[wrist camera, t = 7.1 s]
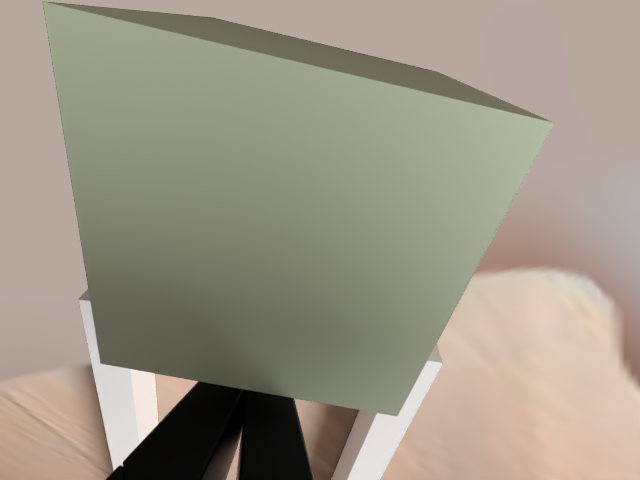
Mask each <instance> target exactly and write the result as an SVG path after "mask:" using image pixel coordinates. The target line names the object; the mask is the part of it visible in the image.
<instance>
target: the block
mask: <svg viewBox="0 0 640 480" xmlns="http://www.w3.org/2000/svg"><path fill="white" fill-rule="evenodd" d="M43 7H44V14H45V20H46V26H47V32H48V38H49V45H50V51H51V57H52V64H53V70H54V76H55V82H56V89H57V95H58V101H59V108H60V113H61V120H62V126H63V133H64V139H65V145H66V151H67V158H68V164H69V170H70V176H71V183H72V189H73V195H74V201H75V208H76V214H77V220H78V227H79V233H80V239H81V245H82V251H83V258H84V264H85V270H86V277H87V282H88V289H89V296H90V302H91V308H92V314H93V321H94V327H95V333H96V339H97V346H98V352H99V358H100V364H105V365H111V366H116V367H122V368H128V369H133V370H139V371H144V372H150V373H156V374H161V375H167V376H172V377H178V378H184V379H189V380H195V381H201V382H206V383H212V384H217V385H223V386H229V387H234V388H240V389H245V390H251V391H257V392H262V393H268V394H273V395H279V396H285V397H290V398H296V399H301V400H307V401H313V402H318V403H324V404H329V405H335V406H341V407H346V408H352V409H357V410H363V411H369V412H374V413H380V414H385V415H391V416H398V414H399V413H400V411H401V409H402V407H403V405H404V403H405V401H406V400H407V398H408V396H409V394H410V392H411V390H412V388H413V386H414V385H415V383H416V381H417V379H418V377H419V375H420V373H421V371H422V370H423V368H424V366H425V364H426V362H427V360H428V358H429V357H430V355H431V353H432V351H433V349H434V347H435V345H436V343H437V342H438V340H439V338H440V336H441V334H442V332H443V330H444V328H445V327H446V325H447V323H448V321H449V319H450V317H451V315H452V313H453V312H454V310H455V308H456V306H457V304H458V302H459V300H460V299H461V297H462V295H463V293H464V291H465V289H466V287H467V285H468V284H469V282H470V280H471V278H472V276H473V274H474V272H475V270H476V268H477V267H478V265H479V263H480V261H481V259H482V257H483V255H484V253H485V252H486V250H487V248H488V246H489V244H490V242H491V240H492V239H493V237H494V235H495V233H496V231H497V229H498V227H499V225H500V224H501V222H502V220H503V218H504V216H505V214H506V212H507V210H508V209H509V207H510V205H511V203H512V201H513V199H514V197H515V195H516V194H517V192H518V190H519V188H520V186H521V184H522V183H523V180H524V179H525V177H526V175H527V173H528V171H529V169H530V168H531V166H532V164H533V162H534V160H535V158H536V156H537V154H538V153H539V151H540V149H541V147H542V145H543V143H544V141H545V139H546V138H547V136H548V134H549V132H550V130H551V128H552V126H553V125H554V122H551V121H549V120H547V119H544V118H542V117H540V116H537V115H535V114H533V113H531V112H528V111H526V110H524V109H522V108H519V107H517V106H514V105H512V104H510V103H508V102H505V101H503V100H501V99H499V98H496V97H494V96H491V95H489V94H487V93H485V92H483V91H480V90H478V89H475V88H473V87H471V86H469V85H466V84H464V83H462V82H460V81H457V80H455V79H452V78H450V77H448V76H446V75H444V74H441V73H439V72H435V71H431V70H427V69H423V68H419V67H415V66H410V65H407V64H402V63H398V62H394V61H390V60H386V59H382V58H377V57H373V56H369V55H365V54H361V53H357V52H353V51H349V50H344V49H340V48H336V47H332V46H328V45H324V44H320V43H315V42H311V41H307V40H303V39H299V38H295V37H290V36H286V35H282V34H278V33H273V32H270V31H266V30H261V29H257V28H253V27H249V26H245V25H241V24H237V23H232V22H228V21H224V20H220V19H216V18H211V17H200V16H190V15H179V14H168V13H158V12H148V11H137V10H127V9H116V8H106V7H95V6H84V5H74V4H64V3H53V2H43Z"/></svg>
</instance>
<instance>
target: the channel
mask: <svg viewBox="0 0 640 480" xmlns="http://www.w3.org/2000/svg"><path fill="white" fill-rule="evenodd" d="M78 300H79V305H80V310H81V314H82V319H83V324H84V329H85V334H86V339H87V344H88V349H89V354H90V359H91V363H92V368H93V373H94V378H95V383H96V388H97V393H98V398H99V402H100V407H101V412H102V417H103V422H104V427H105V432H106V436H107V441H108V446H109V451H110V456H111V461H112V466H113V470H115V469H116V468H117V467H118V466H120V465H122V466H123V461H124V460H125V459H126V458H127V457H128V456H129V455H130V453H131V452H132V451H133V450H134V449H135V448H136V447H137V446H138V445H139V444H140V443H141V442H142V441H143V440H144V439H145V438H146V436H147V435H148V434H149V433H150V432H151V431H152V430H153V429H154V428H155V427H156V426H157V425H158V410H157V397H156V383H155V373H150V372H144V371H139V370H133V369H128V368H122V367H116V366H111V365H105V364H100V358H99V352H98V346H97V339H96V333H95V327H94V321H93V314H92V308H91V302H90V296H89V289H88V290H87V291H86V292H85V293H84V294H83V295H82V296H81V297H80V298H79V299H78ZM442 364H443V362H442V359H441V356H440V353H439V349H438V346H437V343H436V345H435V347H434V349H433V351H432V353H431V355H430V357H429V358H428V360H427V362H426V364H425V366H424V368H423V370H422V371H421V373H420V375H419V377H418V379H417V381H416V383H415V385H414V386H413V388H412V390H411V392H410V394H409V396H408V398H407V400H406V401H405V403H404V405H403V407H402V409H401V411H400V413H399V414H398V416H391V415H385V414H380V413H374V412H369V411H363V410H359V412H358V415H357V417H356V419H355V422H354V424H353V427H352V429H351V432H350V434H349V437H348V439H347V442H346V444H345V447H344V449H343V452H342V454H341V457H340V459H339V462H338V464H337V466H336V469H335V471H334V474H333V476H332V479H331V480H380V478H381V476H382V474H383V473H384V471H385V469H386V467H387V465H388V463H389V462H390V460H391V458H392V456H393V454H394V452H395V450H396V449H397V447H398V445H399V443H400V441H401V439H402V438H403V436H404V434H405V432H406V430H407V428H408V426H409V425H410V423H411V421H412V419H413V417H414V415H415V414H416V412H417V410H418V408H419V406H420V404H421V402H422V401H423V399H424V397H425V395H426V393H427V391H428V390H429V388H430V386H431V384H432V382H433V380H434V378H435V377H436V375H437V373H438V371H439V369H440V367H441V366H442Z"/></svg>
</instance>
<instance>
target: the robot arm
mask: <svg viewBox="0 0 640 480" xmlns="http://www.w3.org/2000/svg"><path fill="white" fill-rule="evenodd" d="M241 432H242V435H241ZM240 436H241V442H240V449H239V458H238V467H237V476H236V480H314V477H313V473H312V469H311V465H310V461H309V457H308V453H307V449H306V445H305V441H304V437H303V433H302V429H301V425H300V421H299V416H298V412H297V408H296V404H295V400H294V398H290V397H285V396H279V395H273V394H268V393H262V392H257V391H251V390H245V389H240V388H234V387H229V386H223V385H217V384H212V383H206V382H201V381H198V382H197V383H196V384H195V386H194V387H193V388H192V389H191V390H190V391H189V392H188V393H187V394H186V395H185V396H184V397H183V398H182V399H181V400H180V401H179V403H178V404H177V405H176V406H175V407H174V408H173V409H172V410H171V411H170V412H169V413H168V414H167V415H166V416H165V417H164V418H163V420H162V421H161V422H160V423H159V424H158V425H157V426H156V427H155V428H154V429H153V430H152V431H151V432H150V433H149V434H148V435H147V436H146V438H145V439H144V440H143V441H142V442H141V443H140V444H139V445H138V446H137V447H136V448H135V449H134V450H133V451H132V452H131V453H130V455H129V456H128V457H127V458H126V459H125V460H124V461H123V466H122V465H120V466H118V467H117V468H116V469H115V470H114V471H113V472H112V473H111V474H110V475H109V477H108V478H107V479H106V480H226V478H227V475H228V472H229V469H230V466H231V463H232V460H233V458H234V455H235V452H236V449H237V446H238V443H239V440H240Z"/></svg>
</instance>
